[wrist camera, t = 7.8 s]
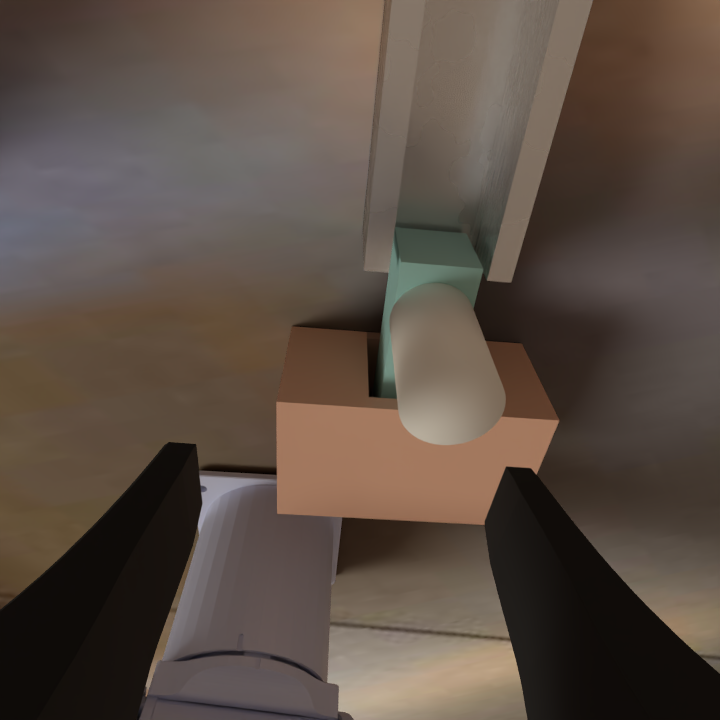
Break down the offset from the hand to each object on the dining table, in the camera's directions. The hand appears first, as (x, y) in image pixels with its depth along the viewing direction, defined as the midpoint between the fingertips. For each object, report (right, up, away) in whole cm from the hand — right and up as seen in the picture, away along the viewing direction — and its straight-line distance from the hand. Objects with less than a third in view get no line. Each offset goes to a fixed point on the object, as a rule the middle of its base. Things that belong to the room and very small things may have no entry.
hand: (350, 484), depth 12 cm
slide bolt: (+2, +5, +9) cm, 11 cm away
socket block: (+2, +2, +11) cm, 12 cm away
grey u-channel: (+3, +11, +5) cm, 12 cm away
